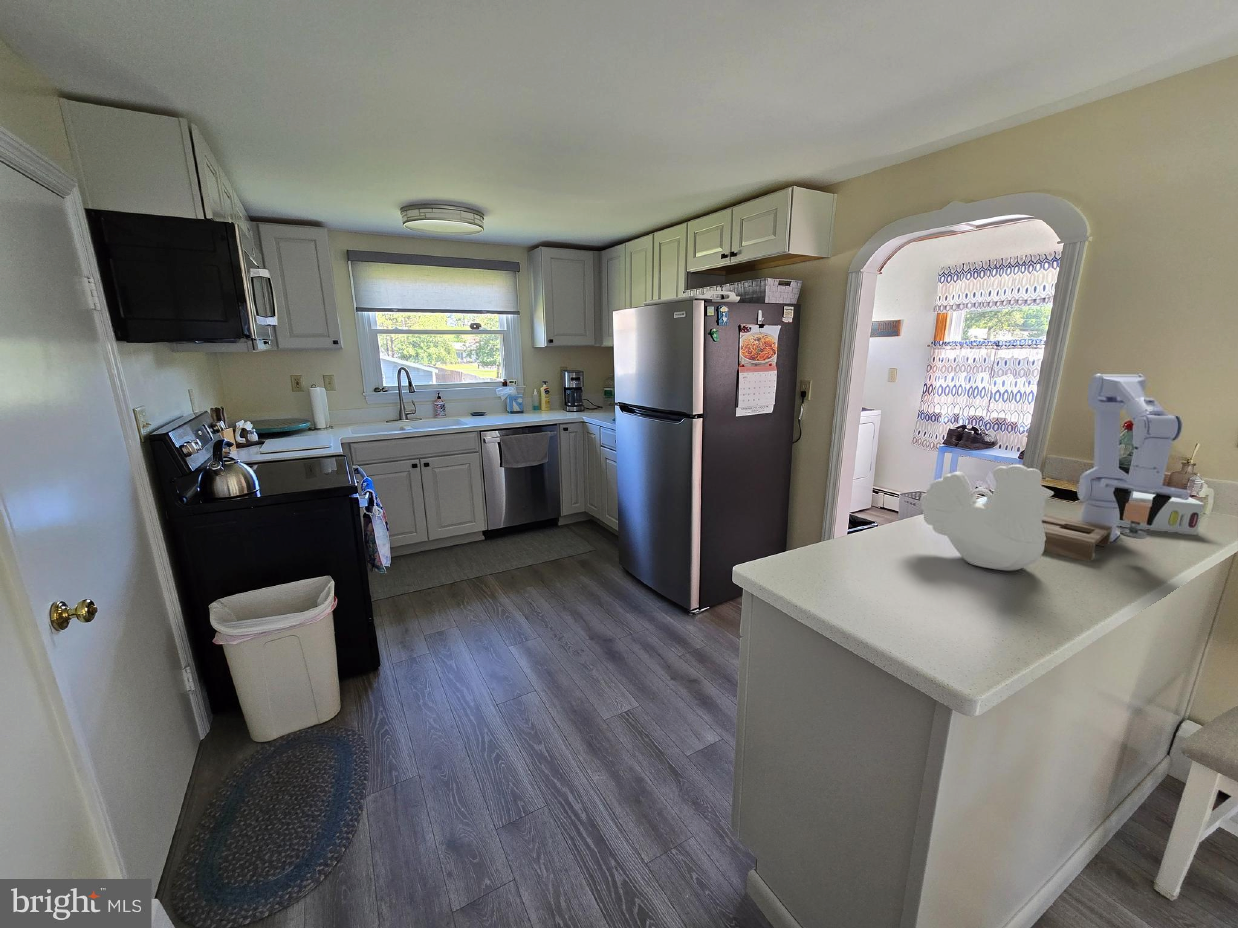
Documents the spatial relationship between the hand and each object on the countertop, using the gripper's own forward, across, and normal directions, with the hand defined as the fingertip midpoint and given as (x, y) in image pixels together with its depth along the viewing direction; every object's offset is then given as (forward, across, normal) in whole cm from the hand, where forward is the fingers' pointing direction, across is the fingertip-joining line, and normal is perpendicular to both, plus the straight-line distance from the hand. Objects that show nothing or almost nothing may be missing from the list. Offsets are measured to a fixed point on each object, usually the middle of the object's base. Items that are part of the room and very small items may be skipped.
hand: (1135, 521), depth 119 cm
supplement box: (+10, -3, +40) cm, 41 cm away
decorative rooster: (+10, -22, -29) cm, 38 cm away
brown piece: (+3, 0, 0) cm, 3 cm away
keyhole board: (+10, -13, 0) cm, 16 cm away
